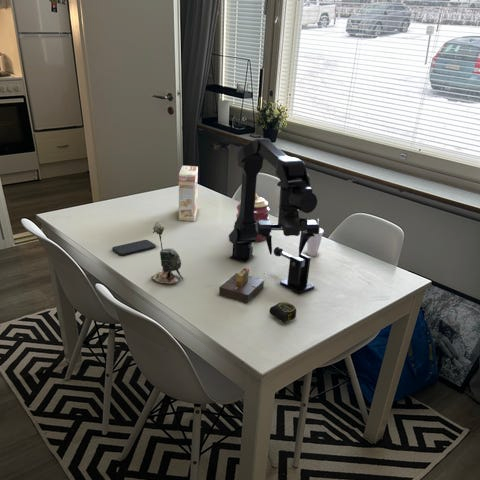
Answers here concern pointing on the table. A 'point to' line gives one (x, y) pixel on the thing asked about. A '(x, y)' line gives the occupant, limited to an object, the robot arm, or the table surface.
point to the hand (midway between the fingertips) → (285, 253)
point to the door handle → (286, 255)
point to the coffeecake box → (188, 193)
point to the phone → (133, 247)
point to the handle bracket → (298, 275)
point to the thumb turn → (242, 277)
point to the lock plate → (241, 289)
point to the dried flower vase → (167, 262)
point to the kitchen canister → (258, 212)
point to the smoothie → (314, 242)
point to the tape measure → (283, 311)
